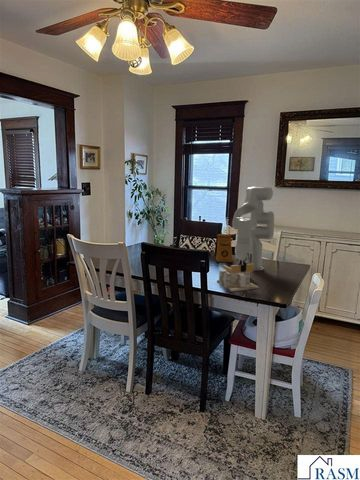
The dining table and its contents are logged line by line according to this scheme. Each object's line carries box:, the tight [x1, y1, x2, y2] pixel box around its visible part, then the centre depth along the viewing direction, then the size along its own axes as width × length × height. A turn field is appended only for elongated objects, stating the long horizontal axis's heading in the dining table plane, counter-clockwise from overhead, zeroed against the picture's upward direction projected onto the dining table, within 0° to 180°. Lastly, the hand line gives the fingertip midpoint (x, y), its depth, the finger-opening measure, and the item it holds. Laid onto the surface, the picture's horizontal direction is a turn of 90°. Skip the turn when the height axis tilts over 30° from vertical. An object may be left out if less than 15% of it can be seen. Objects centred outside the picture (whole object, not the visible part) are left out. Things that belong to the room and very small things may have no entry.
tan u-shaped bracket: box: [222, 264, 255, 273], centre depth 200 cm, size 12×14×4 cm
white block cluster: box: [216, 269, 259, 292], centre depth 201 cm, size 19×18×9 cm
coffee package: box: [215, 233, 233, 263], centre depth 257 cm, size 10×12×22 cm
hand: (242, 270), depth 195 cm, fingers closed
